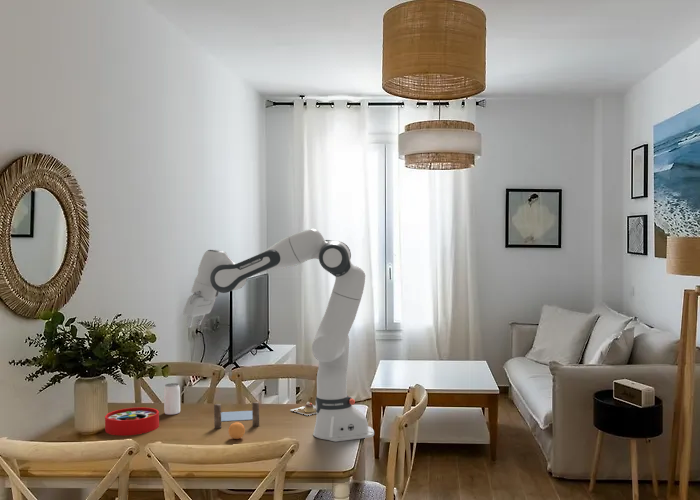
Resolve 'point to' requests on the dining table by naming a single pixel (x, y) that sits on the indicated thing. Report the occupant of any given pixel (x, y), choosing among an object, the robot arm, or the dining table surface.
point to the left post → (217, 416)
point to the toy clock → (131, 421)
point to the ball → (236, 430)
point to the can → (172, 399)
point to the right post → (255, 413)
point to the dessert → (306, 408)
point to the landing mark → (236, 416)
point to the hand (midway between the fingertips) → (193, 325)
